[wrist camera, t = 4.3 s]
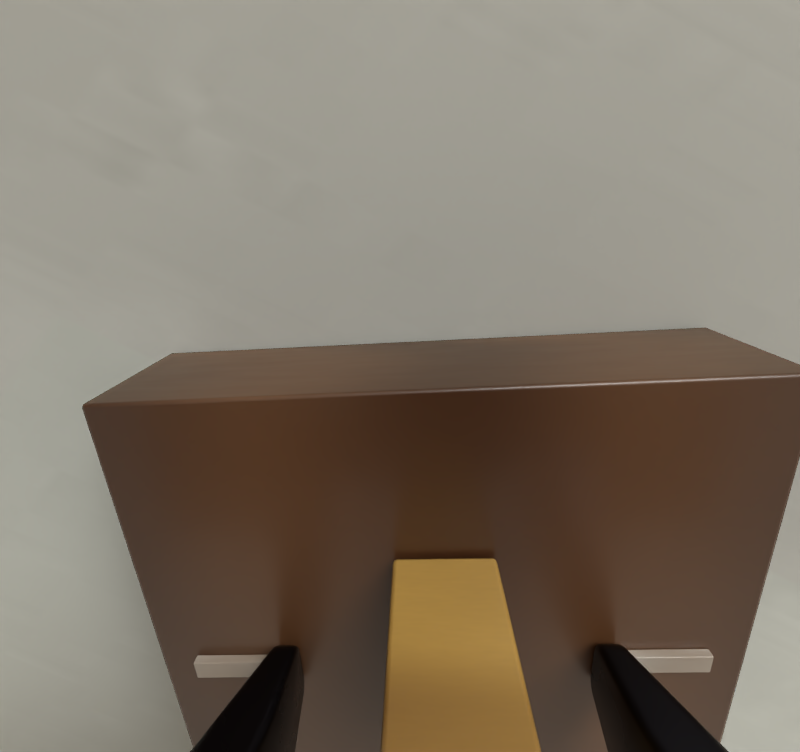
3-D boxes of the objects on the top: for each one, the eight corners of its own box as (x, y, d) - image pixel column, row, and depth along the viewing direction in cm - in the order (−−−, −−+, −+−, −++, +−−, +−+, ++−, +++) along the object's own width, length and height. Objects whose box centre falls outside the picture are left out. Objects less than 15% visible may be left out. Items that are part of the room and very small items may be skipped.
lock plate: (257, 709, 12) (215, 840, 10) (170, 352, 9) (70, 409, 6) (639, 706, 12) (701, 843, 9) (707, 326, 8) (836, 376, 6)
